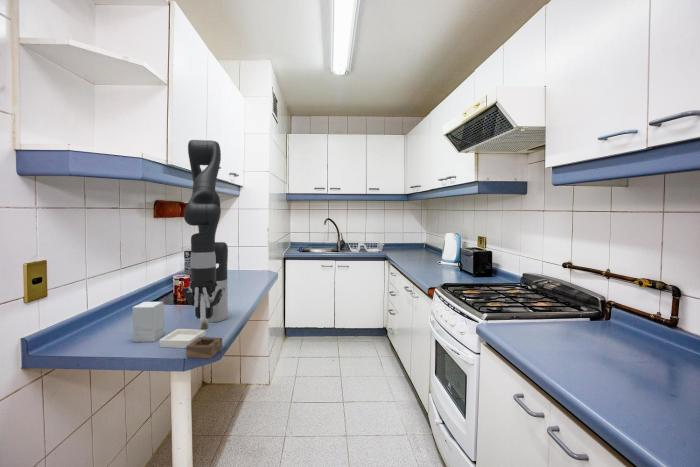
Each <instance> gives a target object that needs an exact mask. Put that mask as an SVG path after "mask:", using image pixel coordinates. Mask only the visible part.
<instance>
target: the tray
mask: <svg viewBox="0 0 700 467" xmlns="http://www.w3.org/2000/svg"><path fill="white" fill-rule="evenodd" d="M199 337H206V330H200V329H195V328H194V329H191V328H177V329H175V330H173V331H172V332H170V333H169V334H166V335H165V336H164V337H161V338H159V339H158V340H159V348H168V349H169V348H174V349H186V346H188V345H189V344H190V343H192V342H193V341H195V340H196V339H197V338H199Z"/></svg>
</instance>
